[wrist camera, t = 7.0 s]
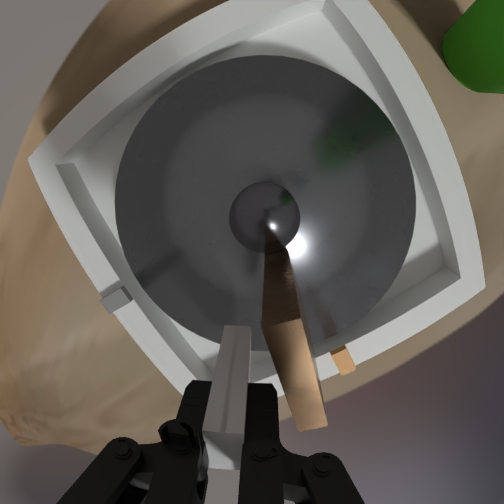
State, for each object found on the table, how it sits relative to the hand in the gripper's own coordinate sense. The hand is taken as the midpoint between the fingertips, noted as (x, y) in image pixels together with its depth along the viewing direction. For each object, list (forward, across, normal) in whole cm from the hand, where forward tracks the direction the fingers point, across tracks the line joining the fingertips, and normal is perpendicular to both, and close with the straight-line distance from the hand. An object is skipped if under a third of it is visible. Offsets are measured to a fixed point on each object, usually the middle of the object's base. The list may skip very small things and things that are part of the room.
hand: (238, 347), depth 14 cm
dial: (+3, +1, +6) cm, 7 cm away
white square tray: (+5, +1, +6) cm, 8 cm away
